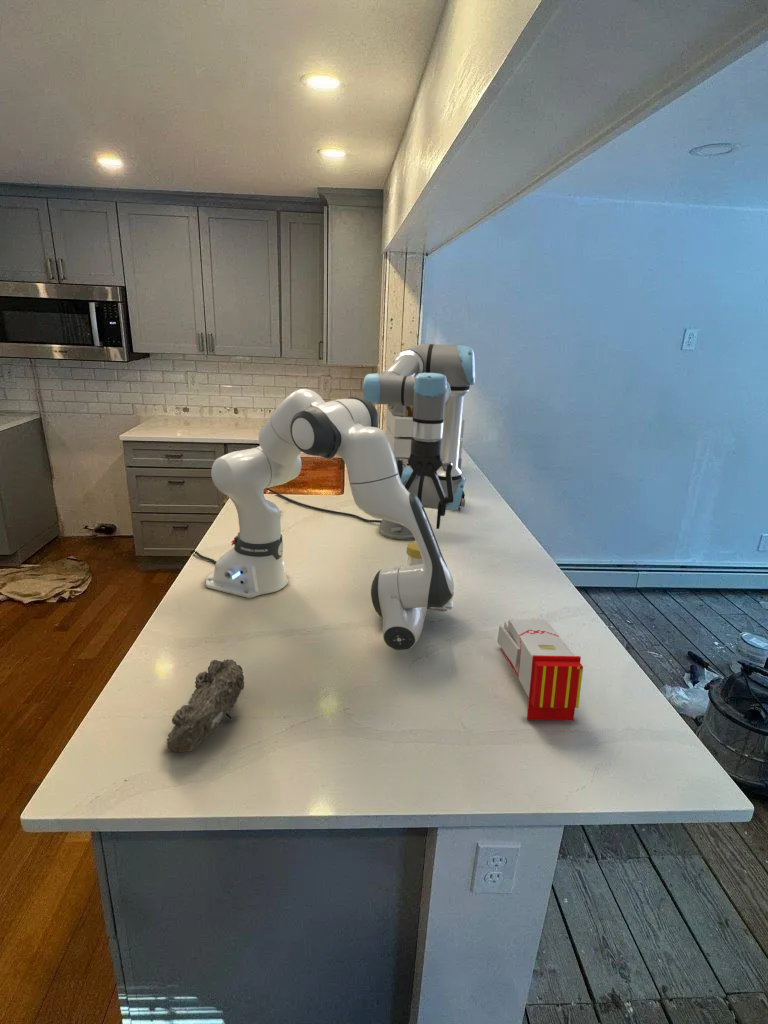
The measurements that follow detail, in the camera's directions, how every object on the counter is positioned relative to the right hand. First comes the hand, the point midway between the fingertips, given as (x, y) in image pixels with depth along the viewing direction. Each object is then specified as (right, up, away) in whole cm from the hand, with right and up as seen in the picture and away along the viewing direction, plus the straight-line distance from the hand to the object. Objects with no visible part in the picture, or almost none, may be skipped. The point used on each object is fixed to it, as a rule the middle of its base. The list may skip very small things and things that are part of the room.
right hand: (420, 525), depth 146 cm
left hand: (-1, -15, +6) cm, 16 cm away
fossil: (-42, -36, -38) cm, 67 cm away
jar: (-1, -21, +8) cm, 23 cm away
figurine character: (+19, +6, +84) cm, 87 cm away
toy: (+23, -33, -22) cm, 46 cm away
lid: (0, -6, +2) cm, 6 cm away
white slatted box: (+8, +22, +129) cm, 131 cm away
